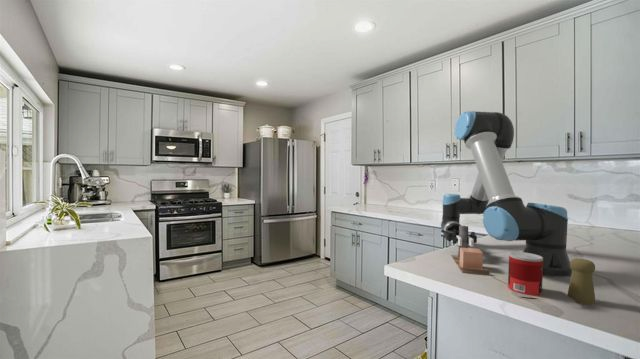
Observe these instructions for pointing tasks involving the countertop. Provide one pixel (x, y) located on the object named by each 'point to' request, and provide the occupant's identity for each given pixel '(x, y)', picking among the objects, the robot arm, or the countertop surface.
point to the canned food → (525, 273)
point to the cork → (582, 282)
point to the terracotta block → (471, 258)
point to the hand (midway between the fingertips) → (466, 242)
